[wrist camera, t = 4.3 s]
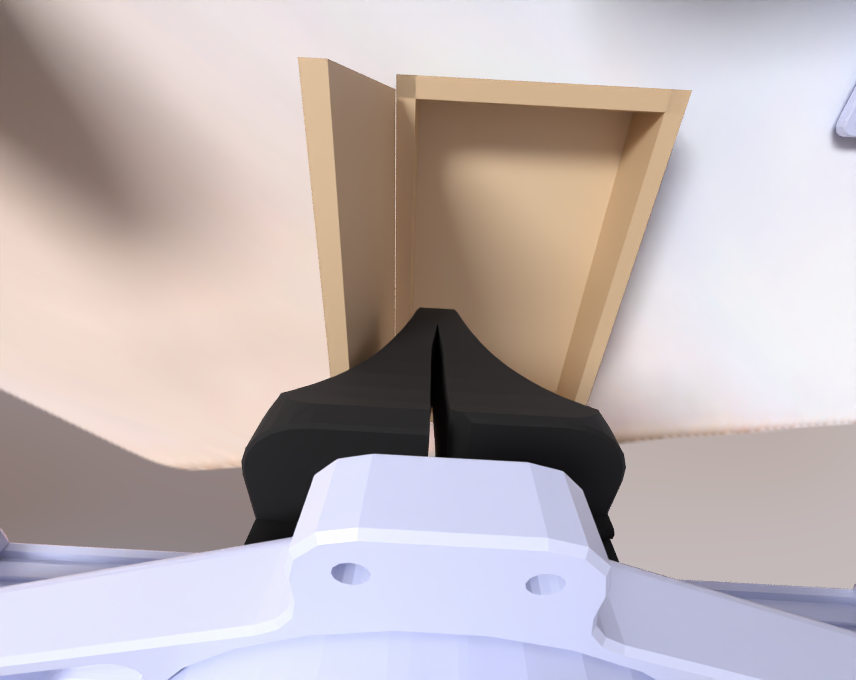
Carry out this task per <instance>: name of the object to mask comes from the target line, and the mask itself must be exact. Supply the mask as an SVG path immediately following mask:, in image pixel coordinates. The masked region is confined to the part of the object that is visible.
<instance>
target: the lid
mask: <svg viewBox="0 0 856 680" xmlns="http://www.w3.org/2000/svg"><path fill="white" fill-rule="evenodd" d="M298 63H299V73H300V82H301V92H302V102H303V112H304V122H305V131H306V141H307V151H308V161H309V171H310V180H311V190H312V200H313V210H314V219H315V229H316V239H317V249H318V259H319V268H320V278H321V288H322V298H323V308H324V317H325V327H326V337H327V347H328V356H329V366H330V376H331V377H334V376H336V375H338V374H340V373H343V372H345V371H347V370H349V369H351V368H352V367H354V366H356V365H358V364H360V363H361V362H363V361H365V360H367V359H368V358H370V357H371V356H373V355H374V354H376V353H377V352H378V351H380V350H381V349H382V348H383V347H384V346H386V345H387V344H388V343H389V342H390V341H391V340H392V339H393V338H394V337H395V89H393V88H391V87H389V86H387V85H384V84H382V83H380V82H378V81H376V80H373V79H371V78H369V77H367V76H365V75H362V74H360V73H358V72H356V71H353V70H351V69H349V68H347V67H345V66H342V65H340V64H338V63H336V62H333V61H331V60H329V59H323V58H304V57H298Z"/></svg>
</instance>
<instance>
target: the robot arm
mask: <svg viewBox="0 0 856 680" xmlns="http://www.w3.org/2000/svg"><path fill="white" fill-rule="evenodd" d="M836 132H837V134H838V135H839V136H842V137H856V86H855V88H854V90H853V92H852V94H851V96H850V98H849V100H848V102H847V104H846V106H845V108H844V110H843V112H842V114H841V116H840V117H839V119H838V122H837V125H836ZM431 410H432V412H433V424H434V437H435V457H428V448H429V432H430V417H431ZM241 462H242V470H243V477H244V480H245V484H246V487H247V490H248V494H249V497H250V501H251V504H252V507H253V511H254V514H255V517H256V520H255V522H254V524H253V526H252V529H251V531H250V533H249V535H248V537H247V540H246V542H245V544H244V545H243V546H237V547H231V548H225V549H220V550H214V551H208V552H202V553H188V552H170V551H151V550H134V549H116V548H97V547H79V546H61V545H44V544H26V543H25V544H24V543H9V542H8V538H7V536H6V535H5V533H4V532H3V531H2V529H1V528H0V680H856V584H855V585H854V588H853V589H839V588H821V587H804V586H803V587H802V586H785V585H766V584H749V583H730V582H713V581H695V580H694V581H693V580H677V579H673V578H670V577H667V576H663V575H660V574H656V573H653V572H650V571H646V570H643V569H640V568H636V567H633V566H629V565H626V564H623V563H619V561H618V558H617V556H616V553H615V551H614V548H613V545H612V543H611V541H610V539H613V537H614V528H613V526H612V523H611V521H610V519H609V516H608V511H609V509H610V507H611V504H612V503H613V500H614V498H615V496H616V494H617V492H618V489H619V487H620V485H621V482H622V480H623V477H624V473H625V469H626V466H625V459H624V454H623V452H622V450H621V448H620V446H619V444H618V443H617V441H616V438H615V437H614V435H613V433H612V431H611V429H610V427H609V426H608V424H607V423H606V421H605V420H604V418H603V417H602V415H601V414H600V412H599V411H598V410H597V409H594V408H591V407H588V406H586V405H583V404H580V403H578V402H575V401H572V400H570V399H567V398H564V397H562V396H560V395H558V394H555V393H553V392H551V391H549V390H547V389H545V388H543V387H541V386H539V385H537V384H535V383H533V382H532V381H530V380H528V379H527V378H525V377H523V376H522V375H520V374H519V373H517V372H515V371H514V370H512V369H511V368H510V367H508V366H507V365H506V364H504V363H503V362H502V361H500V360H499V359H498V358H497V357H495V356H494V355H493V354H492V353H491V352H490V351H489V350H488V349H487V348H486V347H485V346H484V345H483V344H482V343H481V342H480V341H479V340H478V339H477V338H476V337H475V335H474V334H473V333H472V332H471V331H470V329H469V328H468V327H467V325H466V324H465V323H464V321H463V320H462V318H461V317H460V315H459V314H458V312H457V311H456V310H455V309H441V308H422V307H420V308H419V309H417V310H416V312H415V313H414V315H413V316H412V318H411V319H410V320H409V321H408V323H407V324H406V325H405V326H404V327H403V329H402V330H401V331H400V332H399V333H398V334H397V335H396V336H395V337H394V338H393V339H392V340H391V341H390V342H389V343H388V344H387V345H386V346H384V347H383V348H382V349H381V350H380V351H378V352H377V353H376V354H374V355H373V356H371V357H370V358H368V359H367V360H365V361H363V362H361V363H360V364H358V365H356V366H354V367H352V368H351V369H349V370H347V371H345V372H343V373H340V374H338V375H336V376H334V377H331V378H329V379H326V380H324V381H321V382H318V383H315V384H312V385H309V386H305V387H302V388H298V389H295V390H292V391H288V392H284V393H281V394H280V396H279V397H278V399H277V400H276V401H275V402H274V404H273V405H272V406H271V408H270V409H269V410H268V412H267V413H266V415H265V416H264V418H263V419H262V421H261V423H260V424H259V426H258V428H257V430H256V431H255V433H254V435H253V436H252V438H251V440H250V442H249V443H248V445H247V447H246V448H245V452H244V455H243V458H242V461H241Z"/></svg>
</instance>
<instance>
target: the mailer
mask: <svg viewBox="0 0 856 680" xmlns="http://www.w3.org/2000/svg"><path fill="white" fill-rule="evenodd" d="M691 92H692V90H674V89H656V88H638V87H620V86H601V85H583V84H565V83H546V82H528V81H510V80H492V79H473V78H455V77H437V76H418V75H400V74H397V75H396V310H395V336H396V335H397V334H398V333H399V332H400V331H401V330H402V329H403V327H404V326H405V325H406V324H407V323H408V321H409V320H410V319H411V318H412V316H413V315H414V313H415V312H416V310H417V309H419V308H420V307H422V308H441V309H455V310H456V311H457V312H458V314H459V315H460V317H461V318H462V320H463V321H464V323H465V324H466V325H467V327H468V328H469V329H470V331H471V332H472V333H473V334H474V335H475V337H476V338H477V339H478V340H479V341H480V342H481V343H482V344H483V345H484V346H485V347H486V348H487V349H488V350H489V351H490V352H491V353H492V354H493V355H494V356H495V357H497V358H498V359H499V360H500V361H502V362H503V363H504V364H506V365H507V366H508V367H510V368H511V369H512V370H514V371H515V372H517V373H519V374H520V375H522V376H523V377H525V378H527V379H528V380H530V381H532V382H533V383H535V384H537V385H539V386H541V387H543V388H545V389H547V390H549V391H551V392H553V393H555V394H558V395H560V396H562V397H564V398H567V399H570V400H572V401H575V402H578V403H580V404H583V405H587V402H588V399H589V396H590V393H591V390H592V387H593V384H594V381H595V378H596V375H597V372H598V369H599V366H600V363H601V360H602V357H603V354H604V351H605V348H606V345H607V342H608V339H609V336H610V333H611V330H612V327H613V324H614V321H615V319H616V316H617V313H618V310H619V307H620V304H621V301H622V298H623V295H624V292H625V289H626V286H627V283H628V280H629V277H630V274H631V271H632V268H633V265H634V262H635V259H636V256H637V253H638V250H639V247H640V244H641V241H642V238H643V235H644V232H645V229H646V226H647V223H648V220H649V217H650V214H651V211H652V208H653V205H654V202H655V199H656V196H657V193H658V190H659V187H660V184H661V181H662V178H663V175H664V172H665V169H666V166H667V163H668V160H669V157H670V154H671V151H672V148H673V145H674V142H675V139H676V136H677V133H678V130H679V127H680V124H681V121H682V118H683V115H684V112H685V110H686V107H687V104H688V101H689V98H690V95H691ZM430 422H433V412H432V410H431V417H430Z"/></svg>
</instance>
